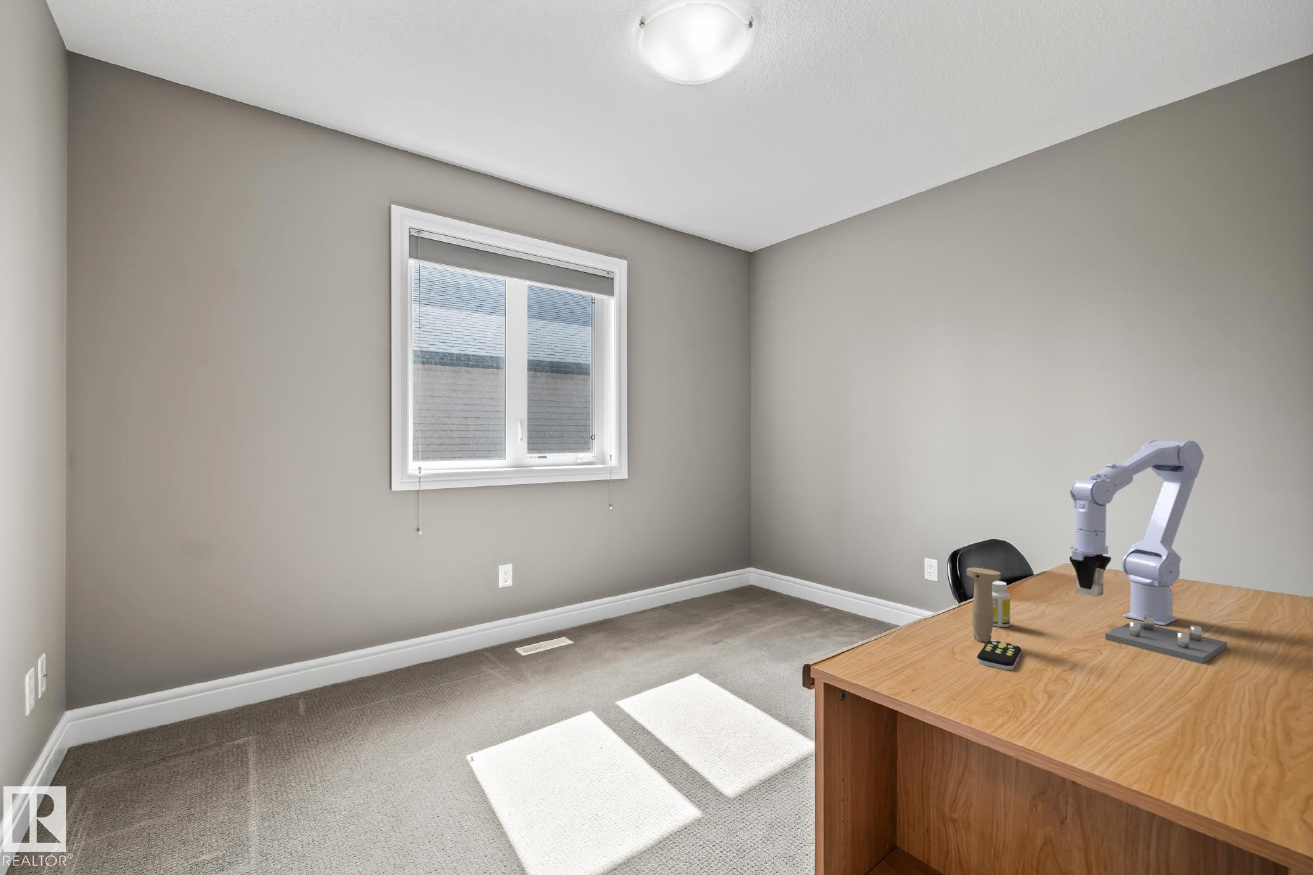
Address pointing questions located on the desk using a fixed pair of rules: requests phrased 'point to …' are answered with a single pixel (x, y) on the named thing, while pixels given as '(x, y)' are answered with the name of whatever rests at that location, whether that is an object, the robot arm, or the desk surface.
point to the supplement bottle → (1000, 604)
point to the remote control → (999, 655)
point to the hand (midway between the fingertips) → (1089, 586)
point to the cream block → (1096, 587)
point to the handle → (982, 602)
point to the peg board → (1167, 640)
